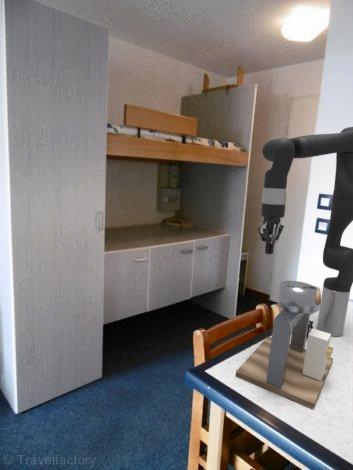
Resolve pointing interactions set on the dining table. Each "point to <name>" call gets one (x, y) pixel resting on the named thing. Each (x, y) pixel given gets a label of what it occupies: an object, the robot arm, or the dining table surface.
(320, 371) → the plug
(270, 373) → the grey two-legged stand
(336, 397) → the dining table surface
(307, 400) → the track board
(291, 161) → the robot arm
